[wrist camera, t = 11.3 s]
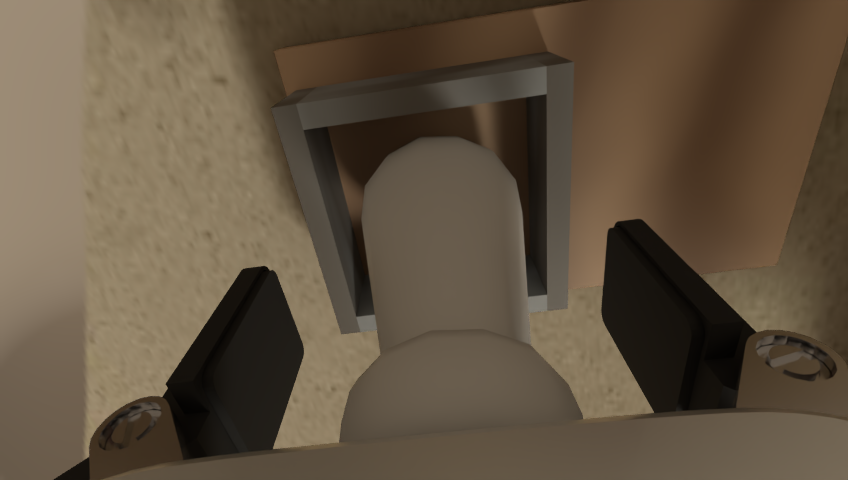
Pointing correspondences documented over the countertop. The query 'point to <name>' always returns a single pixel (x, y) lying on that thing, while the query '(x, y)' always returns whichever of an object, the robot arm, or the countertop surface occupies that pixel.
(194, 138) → the countertop surface
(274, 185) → the countertop surface
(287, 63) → the shaker caddy
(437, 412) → the salt shaker
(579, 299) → the countertop surface
